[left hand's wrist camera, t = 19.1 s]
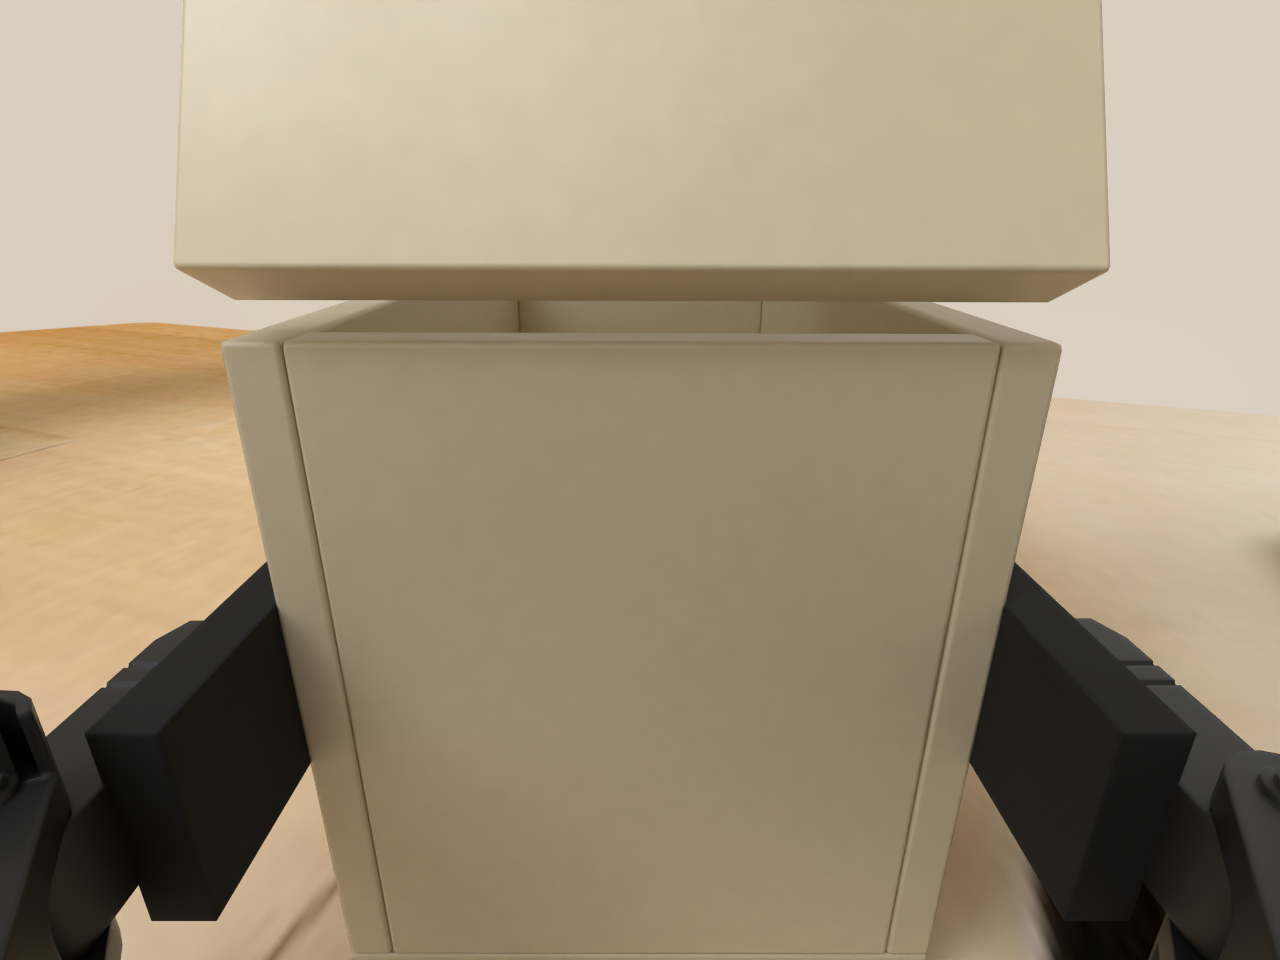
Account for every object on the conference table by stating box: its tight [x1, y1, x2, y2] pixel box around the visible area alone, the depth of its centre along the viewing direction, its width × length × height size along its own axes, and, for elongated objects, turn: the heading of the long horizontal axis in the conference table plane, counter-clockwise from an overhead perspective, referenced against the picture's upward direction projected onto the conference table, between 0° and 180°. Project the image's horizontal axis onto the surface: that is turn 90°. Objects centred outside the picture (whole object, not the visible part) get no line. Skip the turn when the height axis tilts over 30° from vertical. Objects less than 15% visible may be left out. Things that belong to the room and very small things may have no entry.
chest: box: [221, 300, 1062, 960], centre depth 18 cm, size 17×10×11 cm, turn 0°
